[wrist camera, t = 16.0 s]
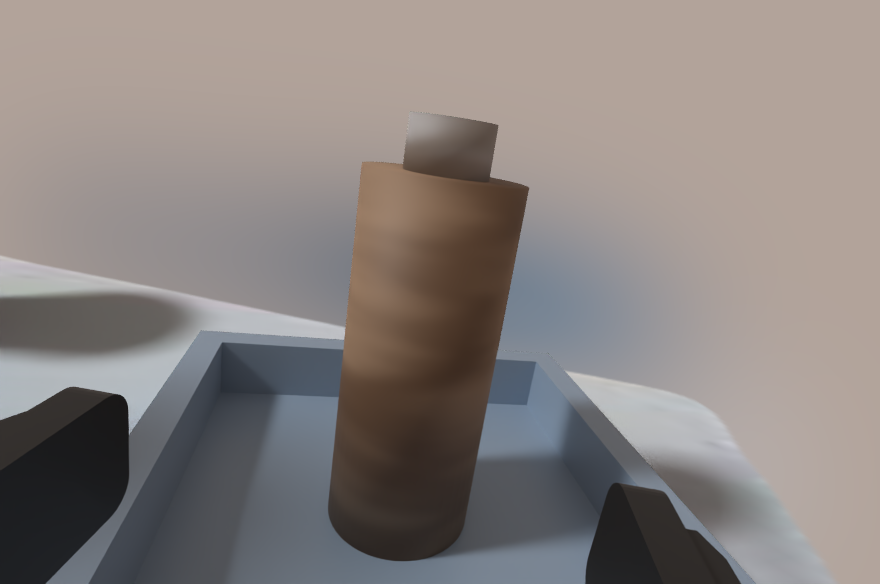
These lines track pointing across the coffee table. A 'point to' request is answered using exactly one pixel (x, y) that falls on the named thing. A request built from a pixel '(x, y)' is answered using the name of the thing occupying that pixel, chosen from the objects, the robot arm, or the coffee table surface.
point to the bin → (309, 473)
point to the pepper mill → (421, 337)
